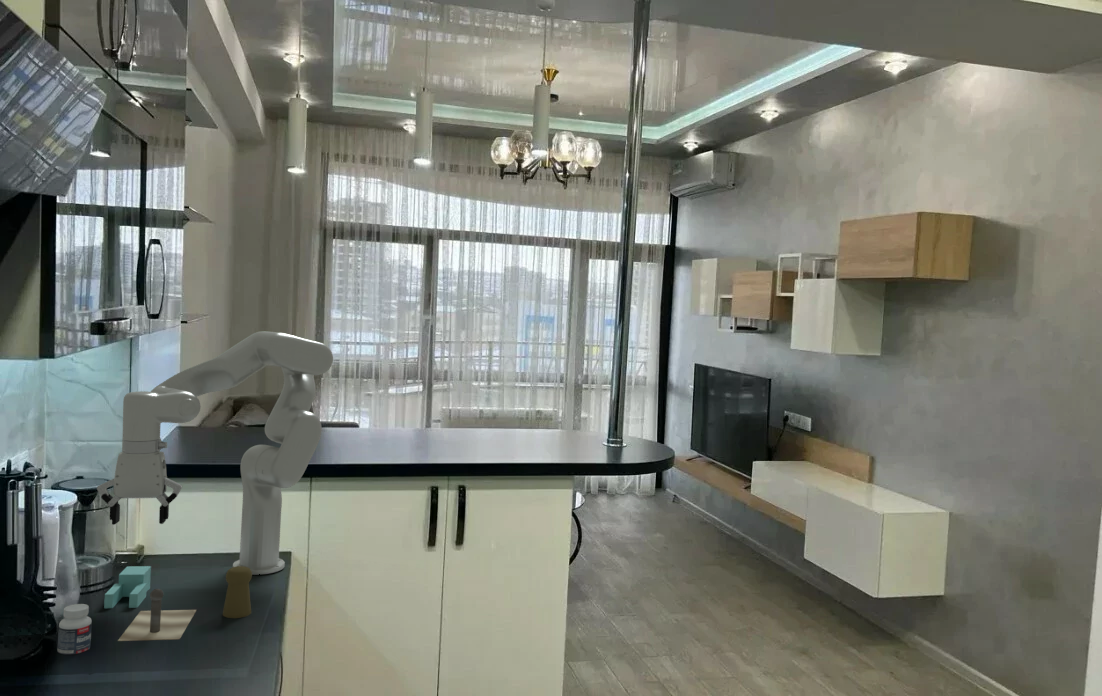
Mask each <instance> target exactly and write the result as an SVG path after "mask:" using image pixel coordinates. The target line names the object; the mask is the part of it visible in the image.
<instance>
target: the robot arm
mask: <svg viewBox="0 0 1102 696" xmlns="http://www.w3.org/2000/svg"><path fill="white" fill-rule="evenodd" d="M333 363H334V355H333V352H332V349H330V347H328V345H326V344H325V343H323V342H319V341H316V340H311V339H307V338H303V337H300V336H297V335H292V334H288V333H285V332H275V331H268V330H267V331H264V330H263V331H262V330H261V331H257V332H253V333H252V334H250V335H249V336H247V337H245V338H244V339H242V340H241V341H239V342H238V343H236V344H234V345H233V346H232V347H230V348H228V349H226V350H225V351H224V352H222V353H220V354H219V355H217V356H215V357H213V358H211V359H209V360H206V361H203V362H201V363H199V364H196V365H194V366H192V367H189V368H187V369H184V370H182V371H180V372H177V373H176V374H174V375H172V376H171V377H169V378H168V379H165V380H164V381H162V382H161V383H159V384H158V385H156V386H155V387H153V388H152V389H151V390H150V391H144V390H143V391H142V390H141V391H131V392H127V393H126V394H124V396H123V401H122V441H121V451H120V452H119V453H118V456H117V460H116V464H115V465H116V466H115V470H114V471H115V472H114V477H113V478H112V479H110V480H107V481H106V482H103V483H102V484H99V485H98V486H97V487H96V490H97V492H98V494H99V496H101V497H100V498H101V499H102V500H103V501H104V502H105V503H106V504H107V506H108V507H109V520H110V521H111V525H113V526H114V525H116V524H118V523H119V522H120V520H121V519H120V517H121V511H120V510H121V504H120V503H119V501H120V500H121V499H156V500H157V501H158V502H159V503H160V506H159V517H158V522H159V524H160V525H163V524H164V523H165V522H166V520H168V519H169V515H170V513H169V512H170V511H169V510H170V507H169V506H170V504H171V503H172V502H173V501H174V500H176V498H177V497H178V495H179V494H180V493H181V490H182V489H183V485H182V484H181V483H179V482H176V481H175V480H172V479H171V478H168V476H167V462H166V456H165V452H164V451H161V449H167V446H168V442H167V441H162V439H161V424H163V423H165V424H166V423H169V424H186V423H188V422H191V421H193V420H194V419H196V418H197V416H199V414H200V412H201V407H202V406H201V401H200V400H199V398H198V397H200V396H203V395H206V394H210V393H214V392H223V391H226V390H229V389H232V388H236V387H238V386H239V385H240V384H241V383H244V382H245V381H246V380H247V379H249V378H250V377H251V376H253V375H255V374H256V373H257V372H259V371H261V370H263V369H264V368H265V367H267V366H271V367H280V368H281V372H282V374H283V386H282V390H281V391H280V394H279V396H278V398H277V400H276V402H275V404H274V406H273V408H272V410H271V412H270V414H269V416H268V418H267V421H266V422H265V425H264V434H265V435H266V438H268V439H269V440H270V441H272V442H274V443H277V444H281V445H280V447H277V446H273V445H267V444H257V445H256V444H255V445H254V446H251V447H249V448H248V449H247V450H246V451H245V452H244V453H243V455H242V458H241V460H240V468H239V469H240V476H241V477H240V478H241V483H242V508H241V524H240V525H241V528H240V544H239V545H240V546H239V548H240V549H239V559H238V560H235V561H234V562H233V563H232V567H237V566H245V567H248V568H250V570H251V571H252V576H253V575H254V576H255V575H257V576H258V575H259V574H260V575H268V574H273V573H277V572H279V571H281V570H283V569H284V568H285V565H286V564H285V563H286V562H285V561H284V560H283V559H282V558H280V543H281V541H280V538H281V522H282V521H281V520H282V504H283V495H282V494H283V493H282V489H289V488H292V487H293V486H295V485H296V484H297V483H298V482H299V481H300V480H301V478H302V477H303V475H304V473H305V471H306V470H307V467H309V466H308V465H309V463H310V461H311V459H312V458H313V455H314V453H315V452H316V449H317V447H318V445H319V442H320V439H321V436H322V428H323V427H322V423H321V420H320V418H319V416H317V414H316V413H314V412H311V411H310V409H311V407H312V405H313V403H314V401H315V398H316V393H317V392H316V391H317V390H316V389H317V388H316V386H317V385H316V383H315V378H314V376H320V375H323V374H326V373H327V372H328V371H329V370H330V369H331V368H332V365H333ZM111 487H113V496H112V495H111V494H110V493H109V492H108V488H111ZM167 487H169V488H170V489H172V492H171V493H170V495H169V496H168V495H167V494H166V491H167Z"/></svg>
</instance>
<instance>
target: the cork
mask: <svg viewBox="0 0 1102 696" xmlns="http://www.w3.org/2000/svg"><path fill="white" fill-rule="evenodd" d="M252 577H253V575H252V571H251V570H250V568H248V567H245V566H237V567H233V566H232V567H231V568H228V570H227V571H226V574H225V581H226V582H227V589H226V594H225V599H224V600H225V601H224V603H223V610H222V616H223V617H225V618H228V619H240V618H245V617H248V616H250V615H251V614H252V605H251V603H252V602H251V594H250V593H251V592H250V581H252Z"/></svg>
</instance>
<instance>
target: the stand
mask: <svg viewBox="0 0 1102 696" xmlns="http://www.w3.org/2000/svg"><path fill="white" fill-rule="evenodd" d="M149 597H150V600H151V603H150V610H140V611H139V612H138V614H137V615H136V616H135V618H134V619H133V620H132V622H130V624H129V625H128V627H127V628H126V629H125V630H124V631H123V633H122V635H121V636H120V637H119V639H117V642H128V641H129V642H131V641H132V642H133V641H165V640H166V641H170V640H173V641H174V640H181V638H182V636H183V634H184V633H185V631H186V629H187V628H188V626H189V624H190V622H191V621H192V619H193V617H194V615H195V614H196V612H197V609H168V610H162V599H163V597H164V591H163V589H160V588H155V589H153V590H151V592H150V593H149Z"/></svg>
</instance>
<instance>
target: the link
mask: <svg viewBox="0 0 1102 696" xmlns="http://www.w3.org/2000/svg"><path fill="white" fill-rule="evenodd" d="M151 574H152V566H151V565H144V566H143V565H142V566H140V565H138V566H135V565H134V566H132V565H131V566H129V565H128V566H126V567H125V568H124V569H123V570H122V571H121V572H120V573H119V574H118V583H114V584H113V585H112V587H111V588H110V589H108V590H107V592H106V593H104V601H103V606H104V607H103V608H104V609H113V608H114V607H115V606H116V605H117V603H119V602H120V600H121V599H122V598H125V597H126V598H129V601H128V608H129V609H131V608H133V609H134V608H138V607H139V606H140V605H141V604H142V602H143V601H144V600H145V598H146V597H147V592H148V591H149V590H150V589H151Z"/></svg>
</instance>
